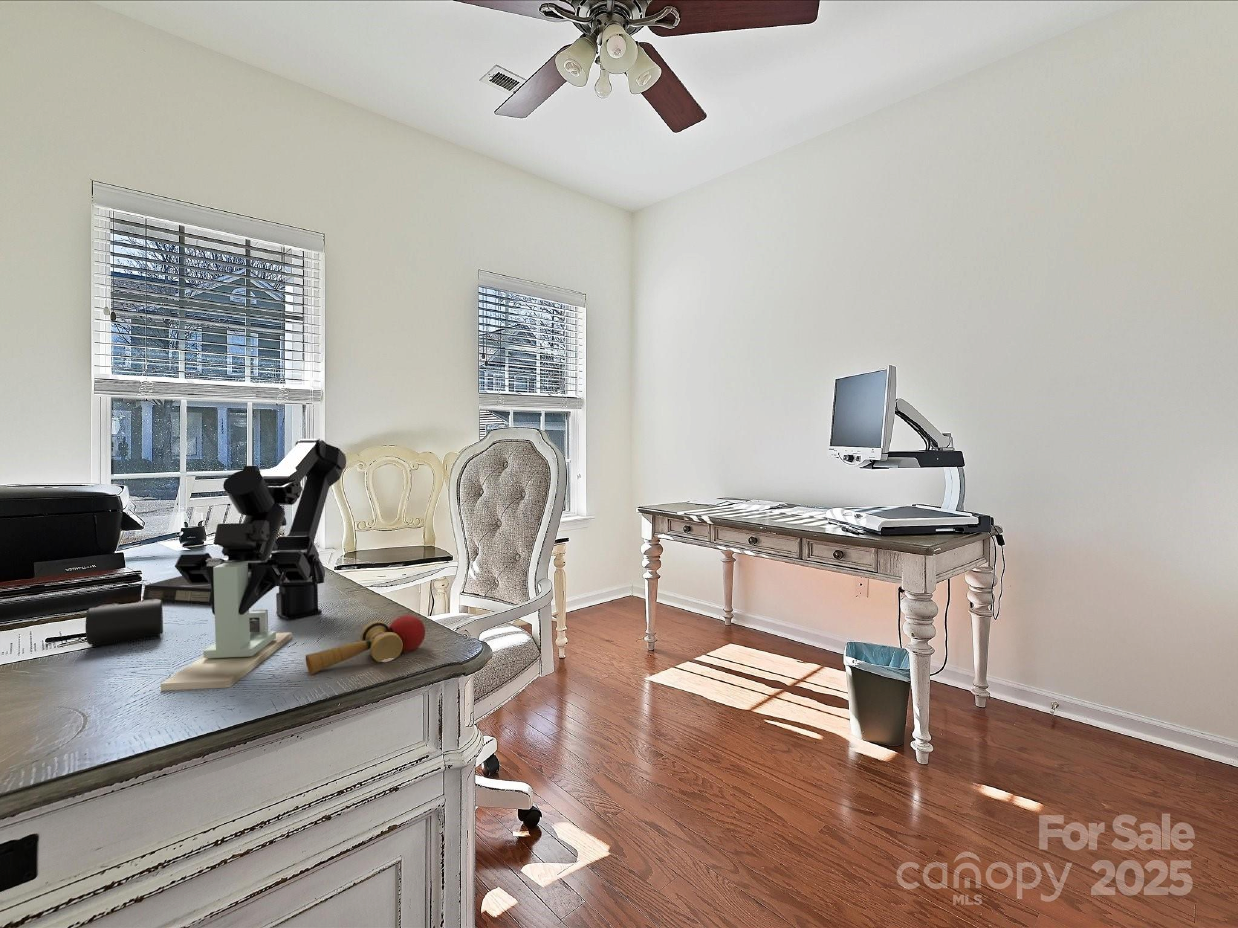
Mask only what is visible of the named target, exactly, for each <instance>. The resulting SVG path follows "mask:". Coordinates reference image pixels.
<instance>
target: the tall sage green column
mask: <svg viewBox="0 0 1238 928" xmlns="http://www.w3.org/2000/svg"><path fill="white" fill-rule="evenodd" d="M213 573H214V606H215V615H214V627H215V628H214V630H215V631H214V633H215V635H214V636H215V643H213V644H212V645H210V646H208V647H207V648H205V649H204V650H202V651H203V652H202V654H203V655H202V656H204V658H222V657H245V656H253V655H254V654H255V653H257V652H258V651H259V650H261V649H262V648H263V647H265V646H266V645H267V644H269V643H270V642H271V641H273V640H274V639H275V638H276V633H277V631H276V630H271V631H270V630H269V622H268V623H267V611H257V612H250V609H249V610H248V611H247V612H246V613H244V614H243V615H240V614H239V612H238V611H239V607H240V603H241V601H242V598H243V596H244V593H245V591H246V589H247V586H248V562H234V563H223V564H220V565H218V566H215V567H213ZM256 617H259V620H260V632H250V626H249V618H256Z"/></svg>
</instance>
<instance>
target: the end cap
mask: <svg viewBox="0 0 1238 928" xmlns="http://www.w3.org/2000/svg"><path fill="white" fill-rule="evenodd" d="M163 612H164V610H163V603H162V600H159V599H153V598H152V599H151V600H143V599H142V600H138V601H137V602H131V603H123V604H119V603H115V602H113V603H111V604H106V603H103V604H102V605H99V606H98V605H97V607H89V608H88V609H87V611H86V614H85V639H86V642H87V644H88V645H91V647H92V648H97V647H102V646H109V645H110V646H111V645H116V644H125V643H129V642H135V641H143V640H149V639H157V638H160V637H161V635H162V634H163V633H164V616H163V615H164V613H163Z"/></svg>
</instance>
